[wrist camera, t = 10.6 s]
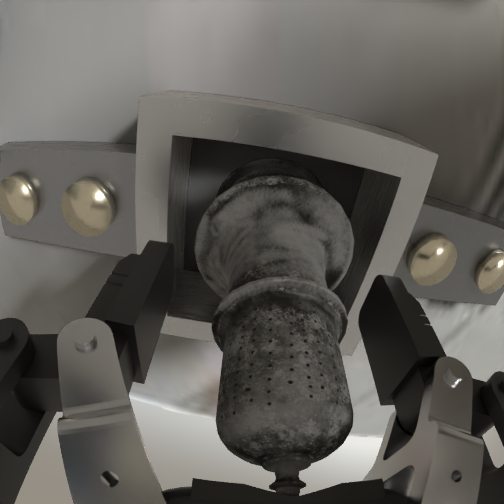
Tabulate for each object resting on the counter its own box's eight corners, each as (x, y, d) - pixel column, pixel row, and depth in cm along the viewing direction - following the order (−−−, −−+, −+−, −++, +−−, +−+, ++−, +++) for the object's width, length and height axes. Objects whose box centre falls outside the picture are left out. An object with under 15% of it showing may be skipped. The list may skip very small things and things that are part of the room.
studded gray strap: (531, 191, 12) (567, 218, 10) (468, 319, 18) (488, 354, 15) (7, 98, 11) (-39, 112, 8) (27, 257, 16) (-3, 290, 13)
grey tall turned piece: (208, 146, 13) (60, 421, 3) (343, 157, 13) (518, 410, 3) (208, 262, 16) (159, 512, 6) (323, 268, 16) (374, 511, 6)
